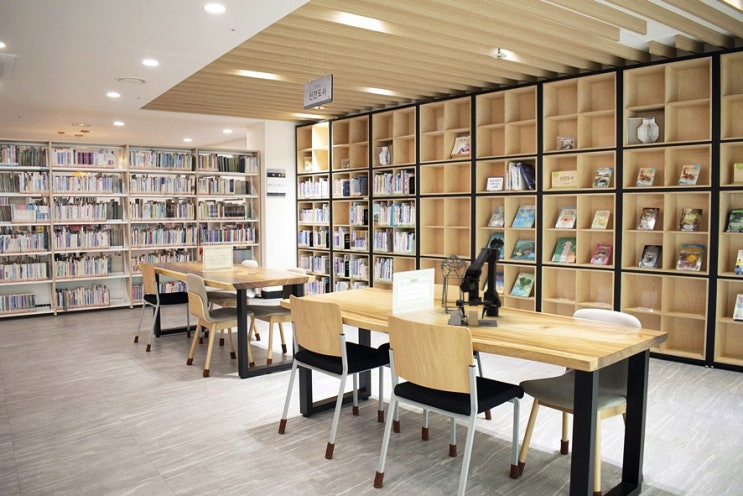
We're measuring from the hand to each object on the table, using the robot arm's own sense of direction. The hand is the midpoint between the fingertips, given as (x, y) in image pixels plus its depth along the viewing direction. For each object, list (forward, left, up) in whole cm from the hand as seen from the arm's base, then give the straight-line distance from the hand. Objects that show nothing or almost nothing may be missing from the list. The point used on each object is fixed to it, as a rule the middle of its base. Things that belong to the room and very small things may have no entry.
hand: (473, 319), depth 313 cm
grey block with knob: (+6, -5, -2) cm, 8 cm away
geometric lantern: (-11, -34, -3) cm, 36 cm away
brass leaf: (+1, -1, -2) cm, 2 cm away
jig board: (0, 0, -3) cm, 3 cm away
